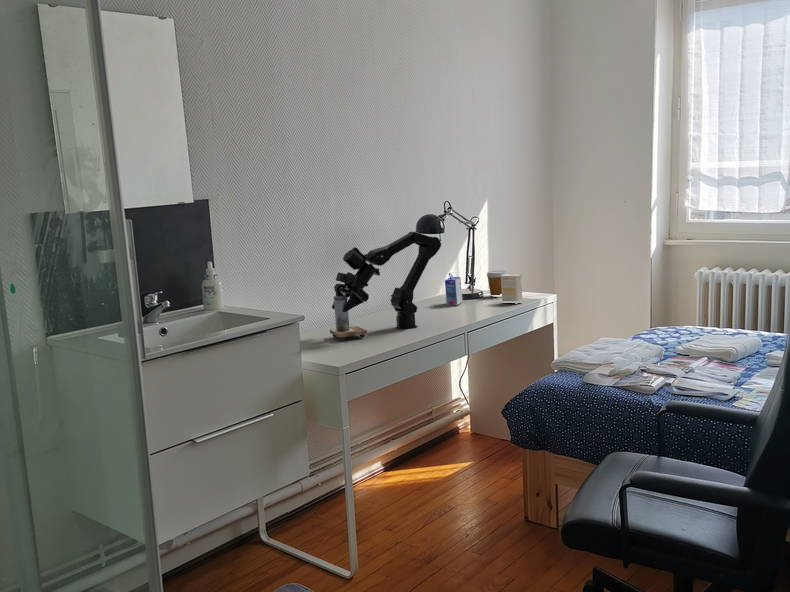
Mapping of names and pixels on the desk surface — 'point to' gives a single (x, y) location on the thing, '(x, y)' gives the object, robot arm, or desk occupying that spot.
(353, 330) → the frame
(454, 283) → the ink cartridge box
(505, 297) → the supplement box
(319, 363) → the desk surface
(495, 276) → the disposable coffee cup
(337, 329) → the canister
